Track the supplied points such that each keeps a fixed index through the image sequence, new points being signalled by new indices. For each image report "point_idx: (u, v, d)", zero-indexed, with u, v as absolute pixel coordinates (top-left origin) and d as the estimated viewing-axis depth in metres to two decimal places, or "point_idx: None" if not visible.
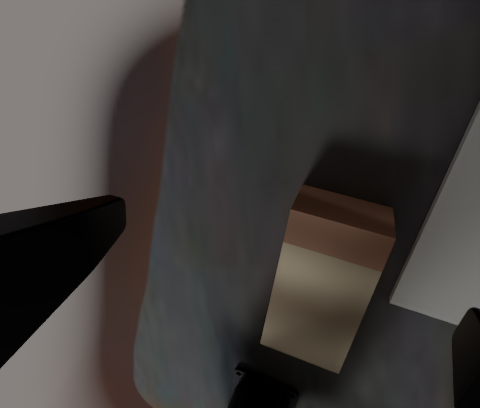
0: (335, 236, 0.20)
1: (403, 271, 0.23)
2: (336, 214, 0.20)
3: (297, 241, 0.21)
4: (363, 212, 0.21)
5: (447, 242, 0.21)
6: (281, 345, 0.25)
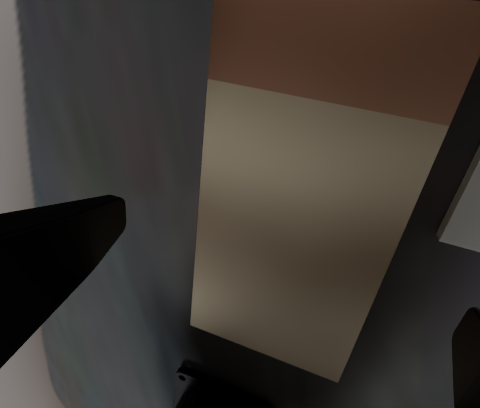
0: (327, 33, 0.08)
1: (476, 165, 0.11)
2: None
3: (238, 70, 0.09)
4: None
5: None
6: (227, 327, 0.13)
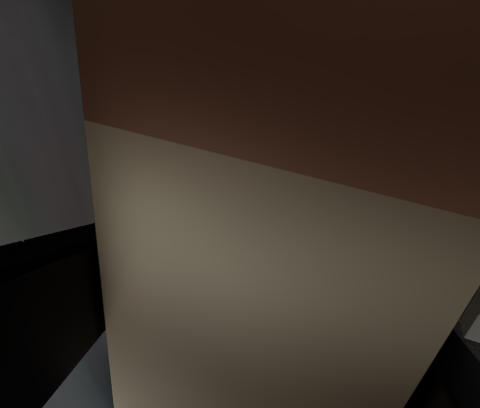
0: (275, 45, 0.04)
1: None
2: None
3: (129, 108, 0.05)
4: None
5: None
6: None
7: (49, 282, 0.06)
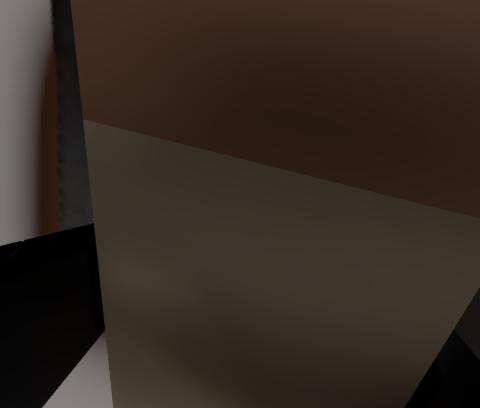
0: (275, 43, 0.04)
1: None
2: None
3: (128, 107, 0.05)
4: None
5: None
6: None
7: (48, 283, 0.06)
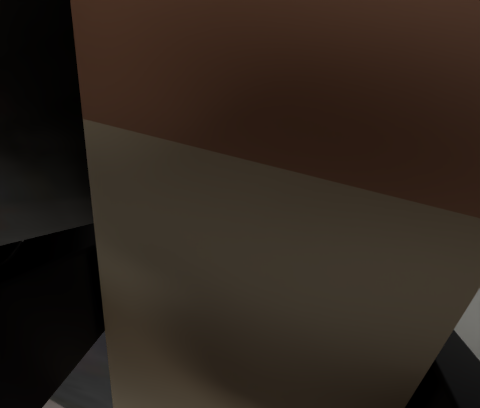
0: (275, 43, 0.04)
1: None
2: None
3: (128, 107, 0.05)
4: None
5: None
6: None
7: (48, 283, 0.06)
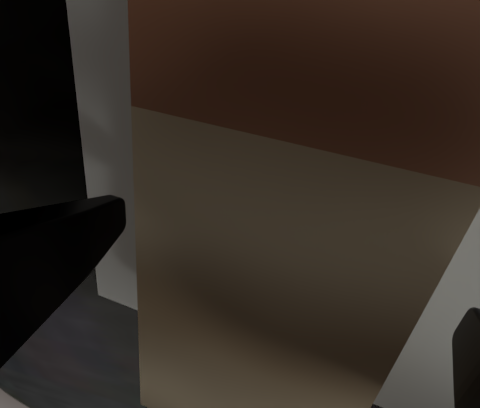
0: (299, 42, 0.05)
1: (384, 407, 0.13)
2: None
3: (171, 95, 0.06)
4: None
5: None
6: None
7: None
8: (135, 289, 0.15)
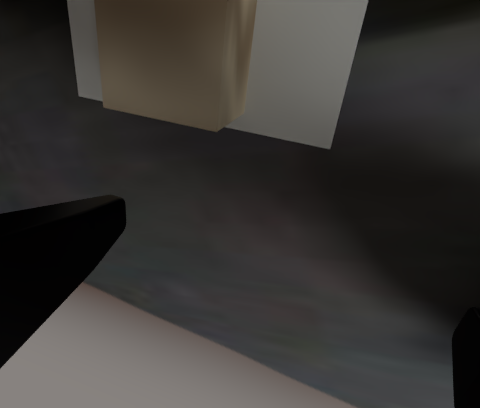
0: None
1: (276, 137, 0.19)
2: None
3: None
4: None
5: None
6: (130, 99, 0.16)
7: None
8: None
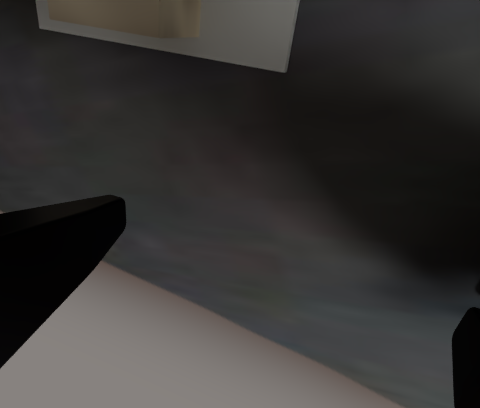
0: None
1: None
2: None
3: None
4: None
5: None
6: (74, 7, 0.16)
7: None
8: None
